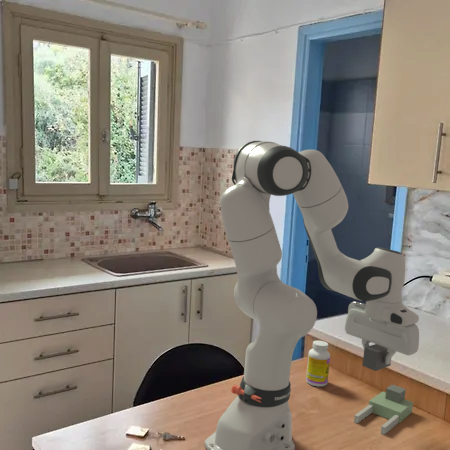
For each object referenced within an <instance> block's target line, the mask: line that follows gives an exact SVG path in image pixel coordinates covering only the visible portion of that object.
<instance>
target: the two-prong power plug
mask: <svg viewBox="0 0 450 450" xmlns="http://www.w3.org/2000/svg"><path fill="white" fill-rule="evenodd" d="M405 396H406V388H403V387H400V386H398V385H396V384H390V385H389V386H387V387H386V390H385V391H381V392H380V393H378V394H377V395H375V396H373V397H372V398H371V399H369V400H368V405H366V406H365V407H363V409H361V410H360V411H359V412H357V413H355V414H354V418H353V419H354V420H353V423H355V424H357V423H358V424H359V423H360V422H362V421H363V420H364V419H366V418H367V417H368V416H369V415H371V414H372V413H373V414H374V415H377V416H380V417H382V418H385V419H388V420H387V421H386V422H385V423H384V424H382V425H381V427H380V434H381V435H384V436H385V435H386V434H387V433H388V432H390V431H391V430H392V429H393V428H394V427H395V426H396V425H398V424H400V423H401V422H403V421H404V420H405V419H406V418H408V417H409V415H411V414H412V413H413V408H414V407H413V405H414V402H413V401H411V400H407V399H405V398H406V397H405ZM365 417H366V418H365ZM361 420H362V421H361Z"/></svg>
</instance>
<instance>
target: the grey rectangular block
mask: <svg viewBox="0 0 450 450" xmlns="http://www.w3.org/2000/svg"><path fill="white" fill-rule="evenodd" d="M388 353H389V352H387V348H386V347H383V346H380V345H377V344H375V343H373V344H371V345H369V346H368V347H365V348H364V347H363V358H362V367H365V368H367V369H369V370H372V371H374V372H377V371H380V370H382V369H385V368H388V367H390V366H391V363H392V362H391V363H390V364H388V365H387V364H384V363H382V360H383V359H382V358H383V356H386V355H388Z"/></svg>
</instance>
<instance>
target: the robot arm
mask: <svg viewBox="0 0 450 450" xmlns="http://www.w3.org/2000/svg"><path fill="white" fill-rule="evenodd" d="M231 182H232V183H233V184H232V186H229V187H228V188H226V190H225V191H223V193H222V194H221V196H220V200H219V205H220V213H221V219H222V224H223V228H224V232H225V236H226V239H227V242H228V244H229V247H230V251H231V254H232V257H233V260H234V264H235V269H236V272H237V273H236V276H237V278H236V280H237V282H236V283H235V286H234V287H233V288H234V289H233V300H234V303H235V305H236V306H237V308H239V309H240V311H242V312H243V314H245V315H246V317H249V318H251V319H253V320H254V321H256V322H257V323H258V324H259V331H258V334H257V337H256V339H255V340H253V341H252V342H250V343H249V344H248V345H247V348H246V350H245V356H244V357H245V359H244V371H243V376H242V377H241V378H242V379H241V381H240V382H239V386H238V385H237V384H233V385H232V387H231V389H230V390H231V391H230V392H231V393H232V394H235V395H237V396H236V397H235V398H234V400H233V401H232V402H231V404H230V405H229V406H228V407H227V409H226V410H225V411H224V412H223V414H222V415H221V416H220V418H219V419H218V421H217V425H216V429H215V431H214V432H213V433H212V434H211V435H209V436H208V437H206V439H205V440H204V446H205V448H206V450H295V449H296V445H295V443H294V442H293V439H292V438H293V437H292V435H293V433H292V432H293V431H292V430H293V428H292V427H293V425H292V419H293V417H292V416H293V415H292V411H291V409H290V403H289V400H290V396H291V390H292V388H291V385H292V384H291V381H290V375H291V367H292V358H293V354H294V351H295V349H296V346H297V344H298V342H299V340H300V339H301V338H303V337H304V336H306V335H308V334H309V333H310V332H311V330H312V329H313V328H314V326H315V324H316V322H317V318H318V317H317V316H318V309H317V306H316V304H315V302H314V300H313V299H312V298H310V297H309V296H308V295H307V294H305V292H303V291H302V290H300V289H299V288H296V287H293V286H291V285H288V284H287V283H284V282H283V281H282V280H281V279H280V277H279V275H278V269H277V268H278V265H279V263H280V262H281V260H282V258H283V251H282V248H281V244H280V240H279V238H278V233H277V230H276V227H275V223H274V220H273V217H272V215H271V212H270V210H271V209H270V201H271V200H270V199H271V196H274V197H275V196H277V197H284V196H288V195H289V196H290V195H293V197H294V199H295V201H296V204H297V206H298V208H299V210H300V213H301V215H302V221H303V222H302V223H303V226H304V230H305V233H306V236H307V238H308V241H309V243H310V247H311V249H312V252H313V253H314V256H315V259H316V263H317V271H318V272H317V273H318V279H319V281H320V283H321V285H322V287H324V289H327V290H328V291H331V292H335V293H339V294H342V295H345V296H346V297H349V298H351V299H354V300H357V301H352V302H350V303H349V305H348V308H347V312H348V313H347V315H346V316H347V317H346V320H345V323H344V324H345V325H344V331H345V333H346V334H347V335H349V336H353V337H355V338H358V339H361V345H362V347H363V349H364V348H365V347H368V346H370V343H372V344H377V345H380V346H383V347H386V348H387V352H389V353H388V355H386V356H383V358H382V359H383V360H382V363H384V364H387V365H388V364H390V363H392V358H393V356H394V355H395V354H396V353H400V354H403V355H406V356H412V355H415V354H416V353H417V352H418V350H419V345H420V330H419V327H418V325H417V324H418V322H419V320H420V316H419V315H418V314H417V313H416V312H414V311H412V310H411V309H409V308H408V307H406V306H405V305H404V304H402V303H403V296H402V290H403V287H404V286H405V279H406V278H405V276H406V261H405V260H406V259H405V256H404V254H402V252H400V251H397V250H393V249H390V248H385V247H375V248H374V250H373V251H372V253H371V254H370V255H368V256H366V257H364V258H363V259H360V260H358V259H356V258H352V257H349V256H347V255H345V254H344V253H343V252H341V251H340V250H339V248H338V246H337V242H336V239H335V236H334V234H333V231H332V229H333V228H335V227H336V226H337V225H339V224H341V222H342V221H343V220H344V219H345V217H346V215H347V213H348V212H349V210H348V209H349V201H348V197H347V195H346V192H345V190H344V187H343V185H342V183H341V182H340V178H339V177H338V176H337V173H336V172H335V170H334V168H333V166H332V165H331V163H330V162H329V161H328V159H327V158H326V157H325V155H324V154H323V153H322V152H321V151H320V150H316V149H304V150H301V151H299V152H298V151H297V150H296V149H294V148H292V147H289V146H287V145H281V144H279V143H276V142H273V141H267V140H266V141H263V140H252V141H248V142H246V143H245V144H243V145H242V146H240V147H239V148H238V150H236V153H235V154H234V158H233V170H232V176H231ZM359 301H360V302H359ZM364 302H365V303H364Z"/></svg>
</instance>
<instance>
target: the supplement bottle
mask: <svg viewBox="0 0 450 450" xmlns="http://www.w3.org/2000/svg"><path fill="white" fill-rule="evenodd" d="M328 348H329V343H328V342H326V341H325V340H314V341H313V342H312V348H311V349H309V351H308V353H307V354H308V356H307V357H308V358H307V367H306V377H305V381H306V383H307V384H308V385H310V386H312V387H325V386H327V385H328V381H329V371H330V364H331V363H330V362H331V353H330V351H329V350H328Z"/></svg>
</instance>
